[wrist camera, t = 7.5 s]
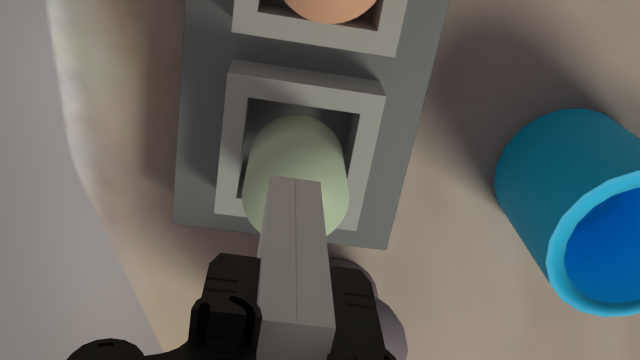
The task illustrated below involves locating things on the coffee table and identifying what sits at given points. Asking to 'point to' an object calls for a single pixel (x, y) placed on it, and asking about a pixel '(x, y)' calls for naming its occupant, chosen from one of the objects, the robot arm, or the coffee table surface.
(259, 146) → the sage button
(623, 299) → the mug
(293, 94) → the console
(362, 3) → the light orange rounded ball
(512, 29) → the coffee table surface
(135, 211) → the coffee table surface
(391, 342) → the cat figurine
